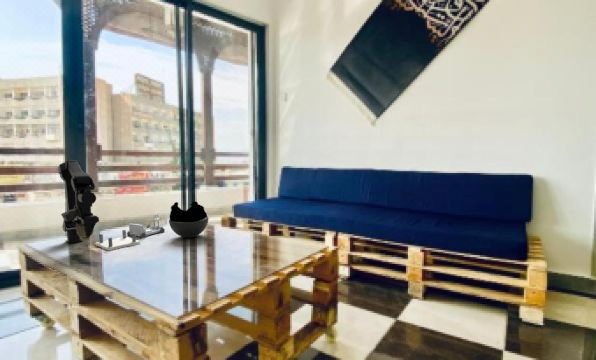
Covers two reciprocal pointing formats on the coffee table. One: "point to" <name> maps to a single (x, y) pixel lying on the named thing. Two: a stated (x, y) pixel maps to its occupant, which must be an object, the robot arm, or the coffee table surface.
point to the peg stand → (117, 241)
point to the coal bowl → (188, 220)
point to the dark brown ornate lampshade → (82, 232)
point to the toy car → (144, 232)
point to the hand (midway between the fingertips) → (85, 235)
